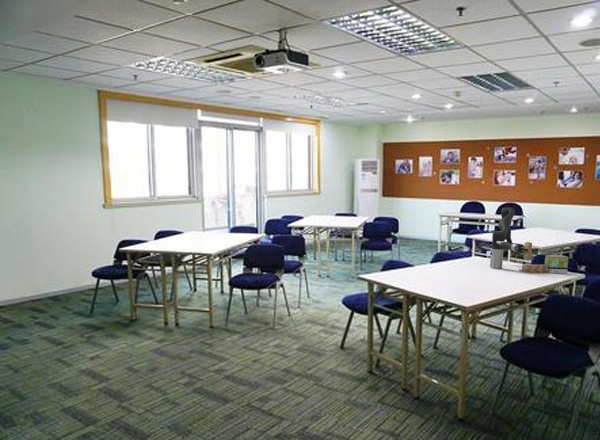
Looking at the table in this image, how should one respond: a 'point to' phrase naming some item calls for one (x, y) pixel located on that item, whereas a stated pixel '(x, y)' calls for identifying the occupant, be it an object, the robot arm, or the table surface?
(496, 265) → the robot arm
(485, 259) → the table surface
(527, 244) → the post
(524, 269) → the ridge board
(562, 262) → the tea box
